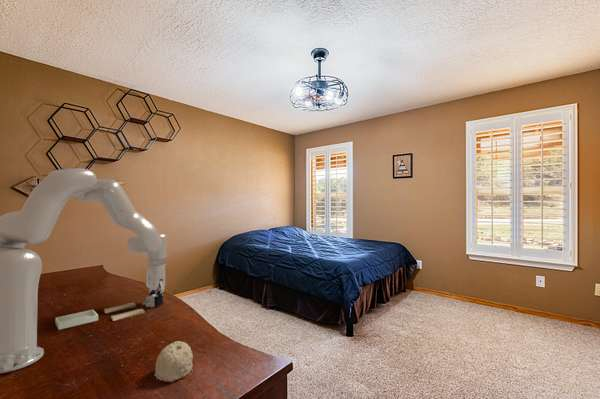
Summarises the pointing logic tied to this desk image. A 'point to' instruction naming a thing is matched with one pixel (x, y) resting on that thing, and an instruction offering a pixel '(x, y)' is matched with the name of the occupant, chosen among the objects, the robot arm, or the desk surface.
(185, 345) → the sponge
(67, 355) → the desk surface
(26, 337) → the robot arm
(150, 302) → the usb wall charger
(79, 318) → the tray
